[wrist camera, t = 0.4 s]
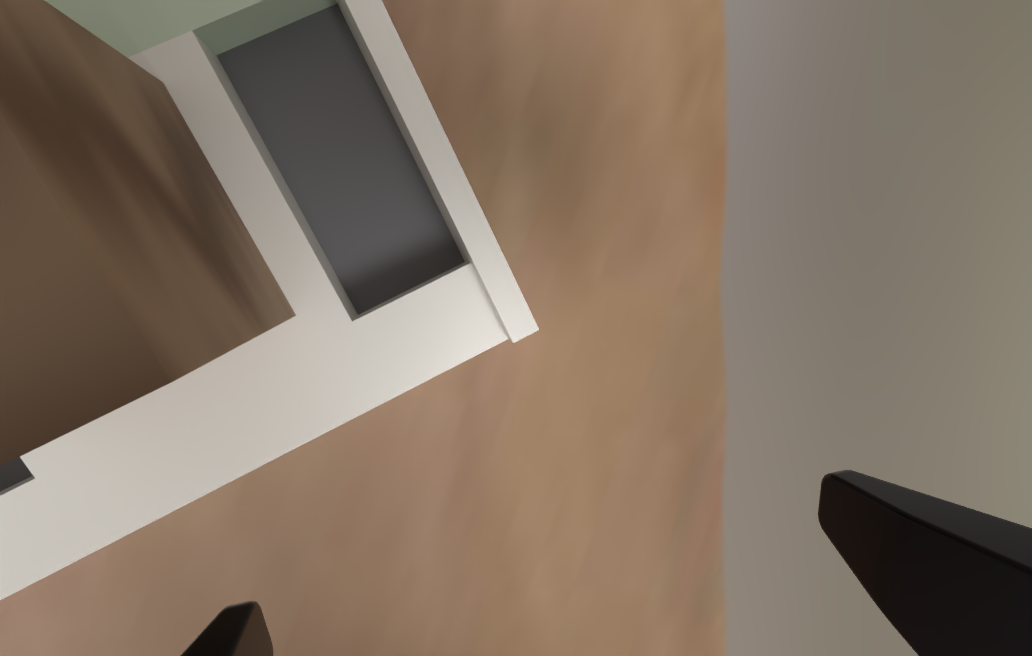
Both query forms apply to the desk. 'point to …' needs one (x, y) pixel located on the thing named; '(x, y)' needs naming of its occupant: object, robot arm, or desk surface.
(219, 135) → the box
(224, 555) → the desk surface
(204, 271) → the walnut block
